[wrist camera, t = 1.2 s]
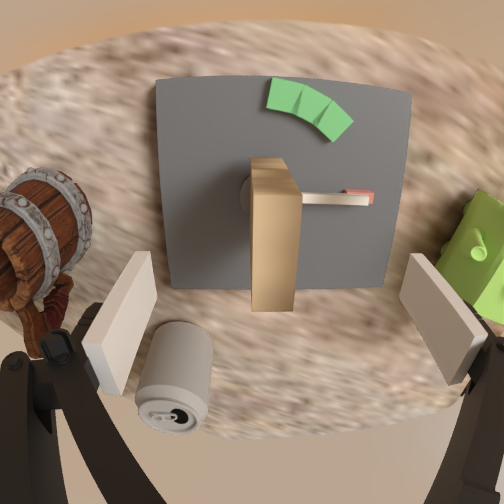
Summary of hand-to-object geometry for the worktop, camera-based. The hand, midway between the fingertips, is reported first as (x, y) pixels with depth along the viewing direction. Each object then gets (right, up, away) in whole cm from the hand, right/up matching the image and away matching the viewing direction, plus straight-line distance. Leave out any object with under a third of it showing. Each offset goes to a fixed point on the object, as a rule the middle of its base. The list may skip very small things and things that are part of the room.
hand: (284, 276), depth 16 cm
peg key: (+3, +6, +12) cm, 14 cm away
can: (-10, -9, +23) cm, 26 cm away
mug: (-23, +4, +15) cm, 28 cm away
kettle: (+24, +3, +17) cm, 30 cm away
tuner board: (+1, +7, +14) cm, 16 cm away
